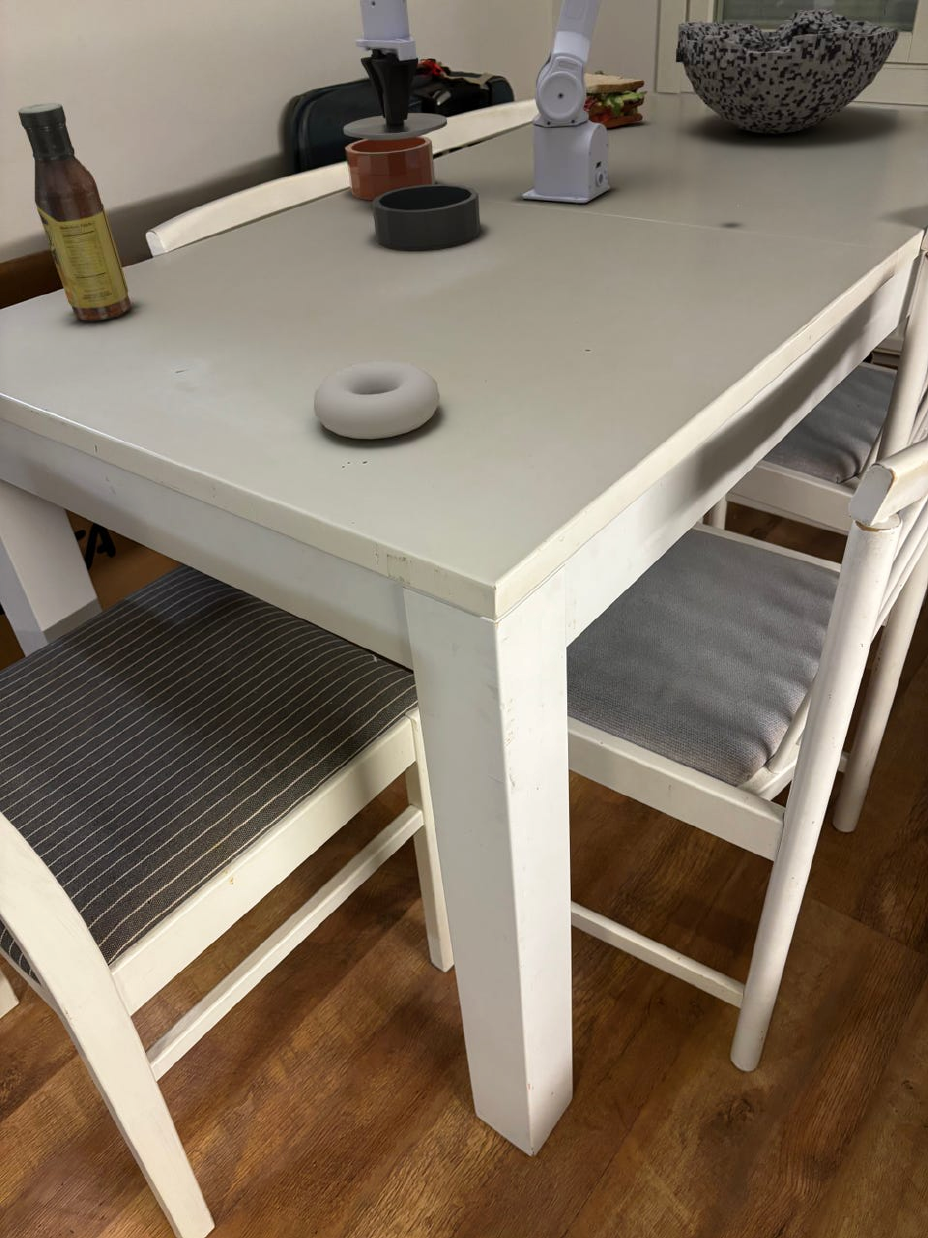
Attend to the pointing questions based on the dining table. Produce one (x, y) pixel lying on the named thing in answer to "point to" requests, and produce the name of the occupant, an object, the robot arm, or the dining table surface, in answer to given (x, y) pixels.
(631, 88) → the sandwich
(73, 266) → the sauce bottle
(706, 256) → the dining table surface
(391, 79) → the robot arm
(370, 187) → the pot
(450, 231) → the dark grey cake pan
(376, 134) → the lid
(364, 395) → the donut
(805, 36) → the bowl
